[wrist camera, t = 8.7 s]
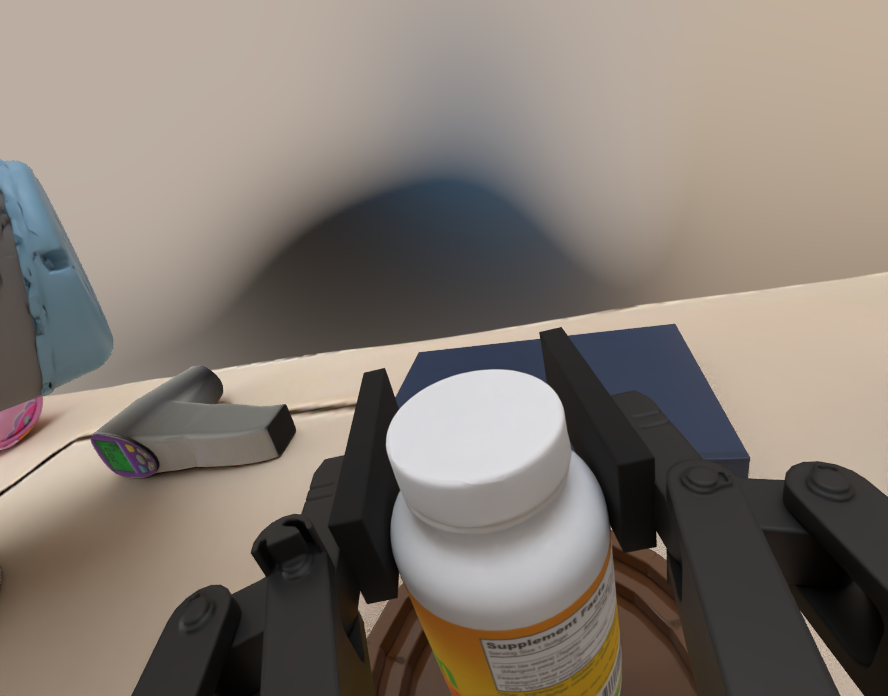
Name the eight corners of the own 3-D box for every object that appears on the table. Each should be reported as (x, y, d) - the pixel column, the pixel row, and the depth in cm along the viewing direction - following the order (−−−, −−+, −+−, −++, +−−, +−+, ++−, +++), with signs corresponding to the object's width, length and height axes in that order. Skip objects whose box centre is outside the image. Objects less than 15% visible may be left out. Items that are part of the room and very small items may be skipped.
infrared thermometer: (276, 478, 32) (103, 486, 34) (332, 386, 42) (197, 397, 45) (253, 428, 30) (71, 440, 32) (318, 345, 40) (177, 359, 43)
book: (369, 496, 27) (357, 469, 26) (425, 373, 38) (418, 352, 38) (746, 492, 21) (750, 457, 20) (675, 349, 33) (675, 323, 32)
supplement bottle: (436, 607, 16) (351, 391, 12) (572, 560, 16) (538, 334, 12) (472, 802, 11) (352, 557, 7) (663, 729, 12) (661, 454, 7)
